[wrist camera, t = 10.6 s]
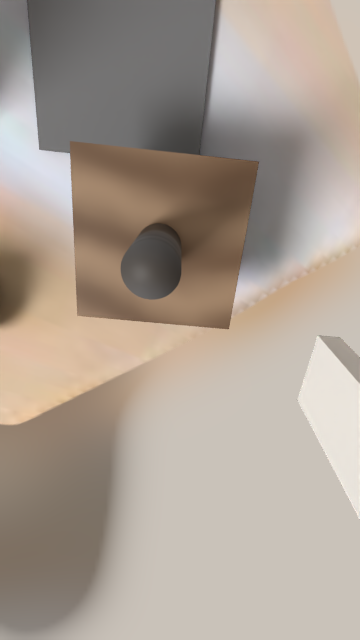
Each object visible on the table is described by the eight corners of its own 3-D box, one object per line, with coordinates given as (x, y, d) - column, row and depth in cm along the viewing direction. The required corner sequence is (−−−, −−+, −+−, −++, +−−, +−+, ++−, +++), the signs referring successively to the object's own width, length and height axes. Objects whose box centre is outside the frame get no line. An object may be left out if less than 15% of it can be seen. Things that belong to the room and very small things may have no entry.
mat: (23, -76, 25) (20, -81, 25) (220, -50, 26) (221, -54, 25) (41, 149, 32) (39, 149, 31) (197, 166, 32) (198, 166, 32)
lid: (73, 142, 25) (22, 125, 17) (256, 162, 26) (291, 154, 18) (80, 311, 31) (45, 358, 23) (227, 324, 32) (243, 375, 24)
